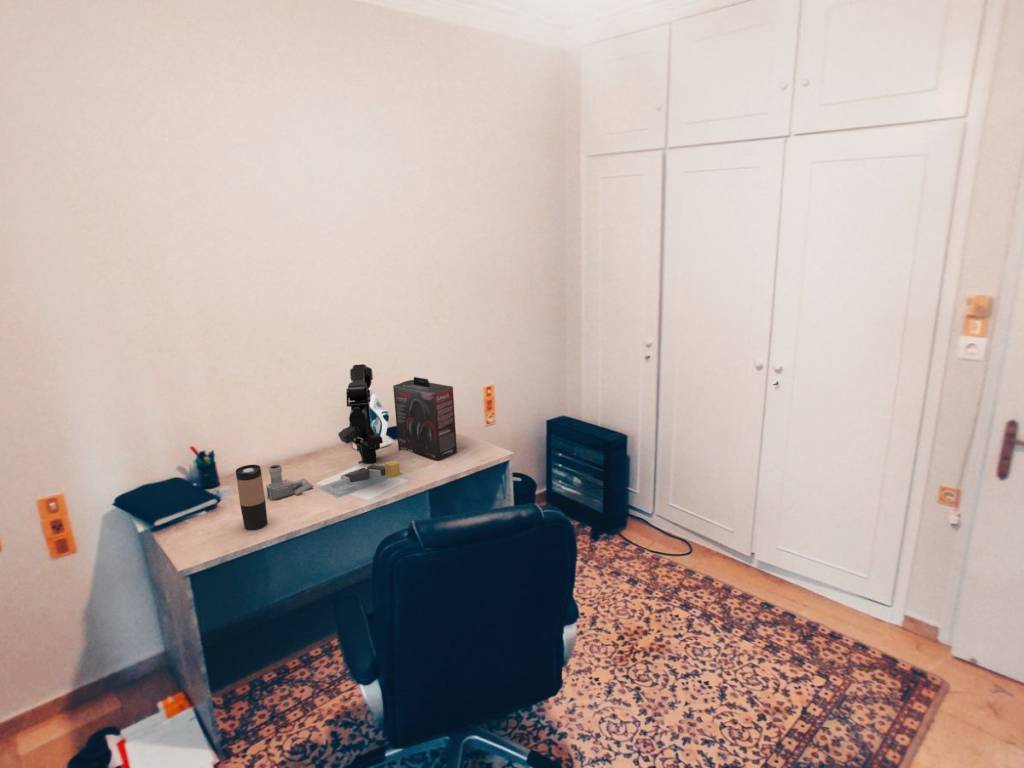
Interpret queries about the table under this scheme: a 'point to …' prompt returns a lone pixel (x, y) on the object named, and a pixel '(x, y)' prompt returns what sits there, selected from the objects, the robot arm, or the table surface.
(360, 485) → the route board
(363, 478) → the charcoal brick
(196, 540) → the table surface
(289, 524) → the table surface
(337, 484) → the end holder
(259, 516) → the travel mug
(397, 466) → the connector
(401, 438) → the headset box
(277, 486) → the grey angular model part
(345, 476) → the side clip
